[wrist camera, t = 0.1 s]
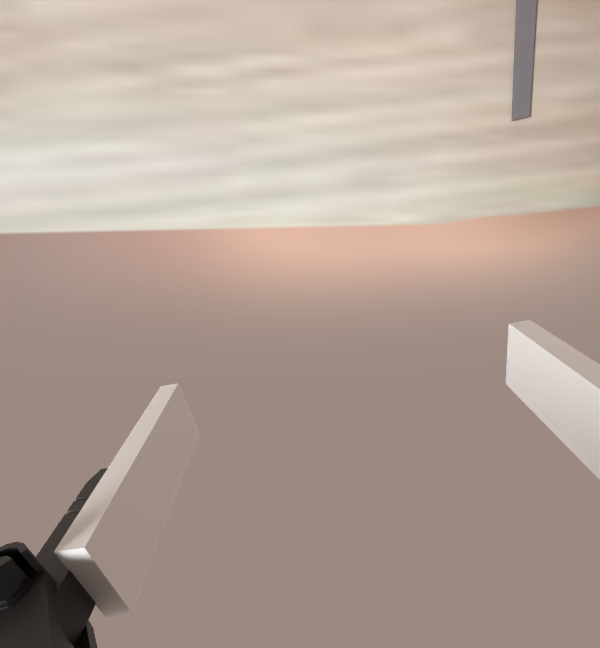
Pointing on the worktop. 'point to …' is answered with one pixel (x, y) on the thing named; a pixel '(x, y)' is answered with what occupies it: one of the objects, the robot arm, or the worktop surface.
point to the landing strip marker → (523, 58)
